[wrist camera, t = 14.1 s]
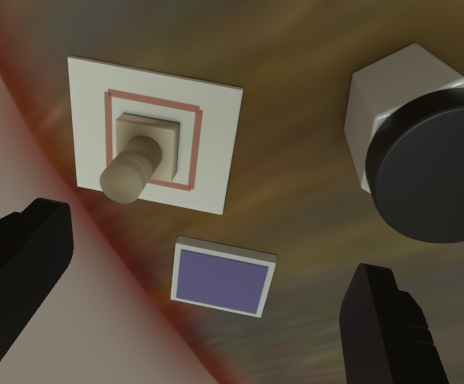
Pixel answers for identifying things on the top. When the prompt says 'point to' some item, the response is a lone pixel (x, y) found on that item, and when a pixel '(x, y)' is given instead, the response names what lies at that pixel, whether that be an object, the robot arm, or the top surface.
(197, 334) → the top surface
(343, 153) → the top surface
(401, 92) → the jar
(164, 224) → the top surface
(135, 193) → the stamp
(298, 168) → the top surface
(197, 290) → the ink pad
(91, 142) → the sheet
